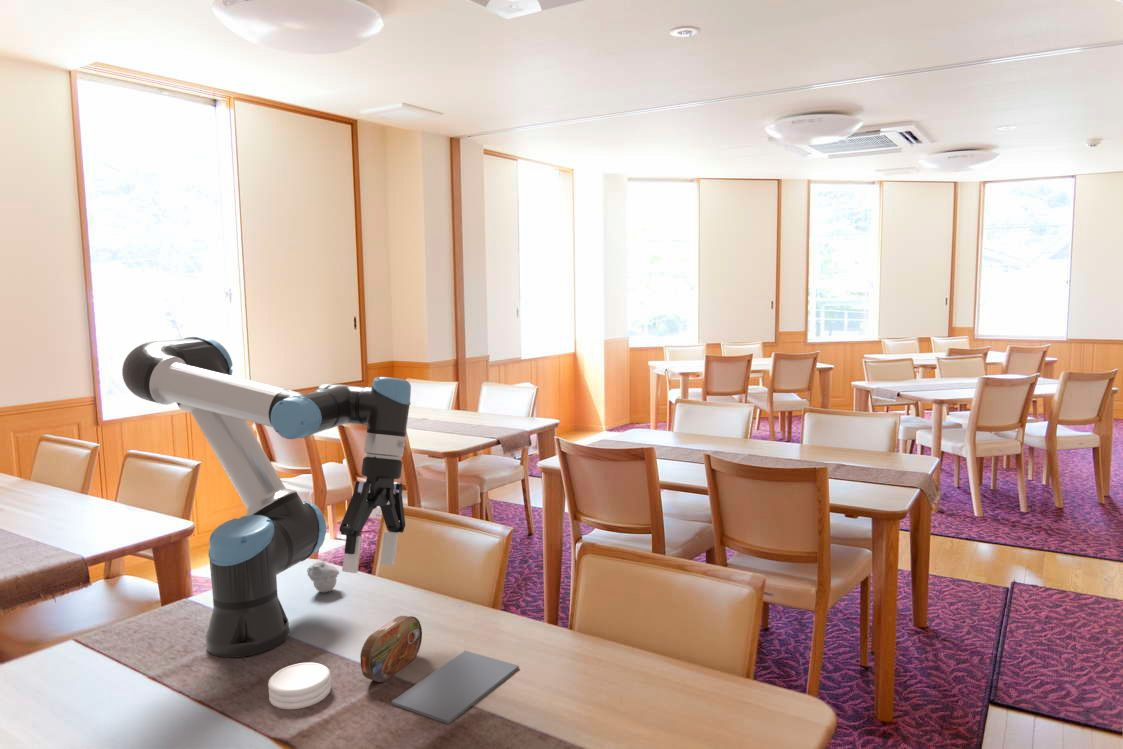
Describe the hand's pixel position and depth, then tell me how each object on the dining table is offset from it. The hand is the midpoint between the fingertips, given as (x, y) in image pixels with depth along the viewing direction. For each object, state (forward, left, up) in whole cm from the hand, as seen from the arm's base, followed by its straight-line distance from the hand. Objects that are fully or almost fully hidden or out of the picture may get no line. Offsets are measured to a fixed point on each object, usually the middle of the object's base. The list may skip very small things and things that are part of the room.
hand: (369, 568), depth 147 cm
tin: (+10, -5, -15) cm, 19 cm away
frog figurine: (-28, +14, -15) cm, 35 cm away
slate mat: (+24, -4, -15) cm, 29 cm away
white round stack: (+2, -19, -16) cm, 25 cm away
